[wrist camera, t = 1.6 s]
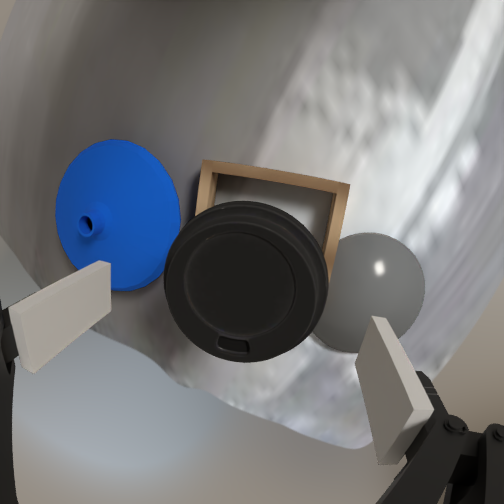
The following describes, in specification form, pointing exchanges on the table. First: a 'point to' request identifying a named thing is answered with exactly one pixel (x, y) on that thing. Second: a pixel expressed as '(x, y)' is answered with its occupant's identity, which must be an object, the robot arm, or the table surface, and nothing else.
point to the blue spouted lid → (118, 212)
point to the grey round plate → (370, 290)
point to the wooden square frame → (337, 188)
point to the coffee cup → (245, 281)
